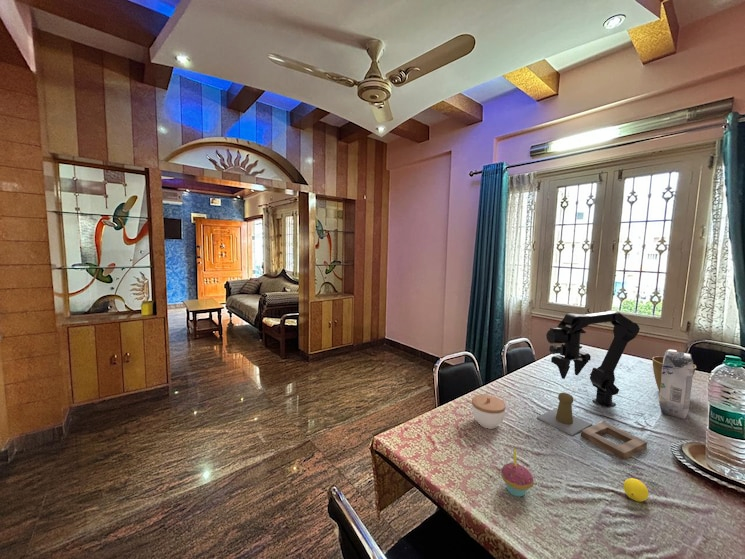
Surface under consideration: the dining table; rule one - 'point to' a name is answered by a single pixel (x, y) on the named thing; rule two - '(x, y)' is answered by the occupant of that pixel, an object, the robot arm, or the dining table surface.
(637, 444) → the socket block
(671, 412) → the juice carton
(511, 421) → the dining table surface
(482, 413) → the lidded bowl
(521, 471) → the cupcake
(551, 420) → the grey mat
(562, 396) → the cork
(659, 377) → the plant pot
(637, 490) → the lemon
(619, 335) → the robot arm
